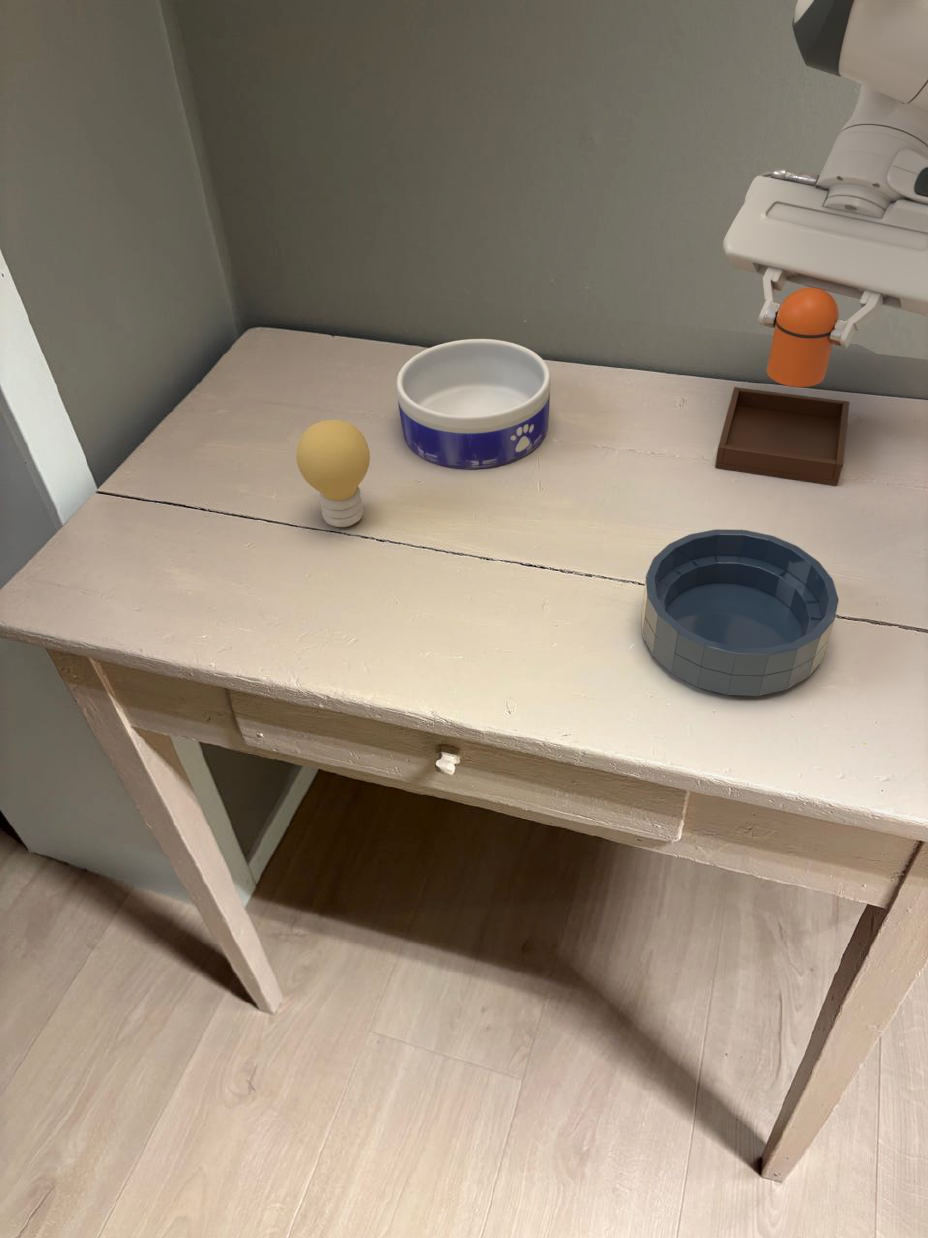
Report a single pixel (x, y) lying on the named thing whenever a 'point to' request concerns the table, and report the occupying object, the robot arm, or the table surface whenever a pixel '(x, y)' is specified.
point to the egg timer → (802, 338)
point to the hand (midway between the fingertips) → (802, 334)
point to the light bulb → (335, 468)
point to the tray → (784, 436)
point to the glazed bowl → (738, 611)
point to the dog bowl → (474, 403)
